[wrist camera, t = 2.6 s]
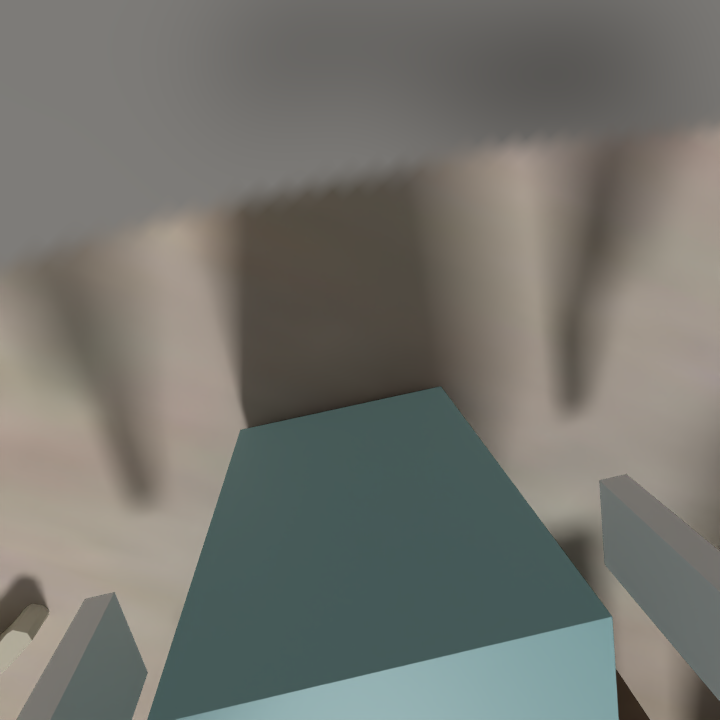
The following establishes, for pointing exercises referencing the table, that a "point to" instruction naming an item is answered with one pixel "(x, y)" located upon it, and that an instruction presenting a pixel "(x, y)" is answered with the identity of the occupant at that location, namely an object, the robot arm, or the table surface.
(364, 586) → the light teal block
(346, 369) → the table surface
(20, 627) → the decorative sign
